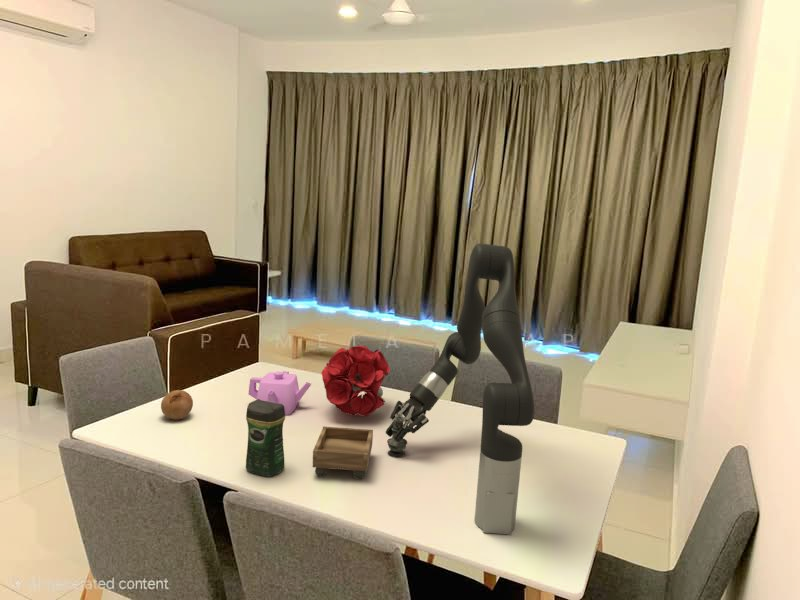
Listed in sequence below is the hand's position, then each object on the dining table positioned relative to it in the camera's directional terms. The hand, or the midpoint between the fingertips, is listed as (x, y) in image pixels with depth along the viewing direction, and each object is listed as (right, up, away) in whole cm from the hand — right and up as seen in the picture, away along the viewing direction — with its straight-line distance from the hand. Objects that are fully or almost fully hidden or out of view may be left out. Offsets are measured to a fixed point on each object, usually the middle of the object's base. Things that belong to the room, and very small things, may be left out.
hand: (391, 437), depth 165 cm
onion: (-68, +2, +19) cm, 70 cm away
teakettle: (-38, +2, +32) cm, 50 cm away
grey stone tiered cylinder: (+1, -5, +2) cm, 6 cm away
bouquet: (-11, +1, +33) cm, 35 cm away
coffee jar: (-33, -6, -12) cm, 36 cm away
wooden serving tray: (-13, -6, -7) cm, 16 cm away
